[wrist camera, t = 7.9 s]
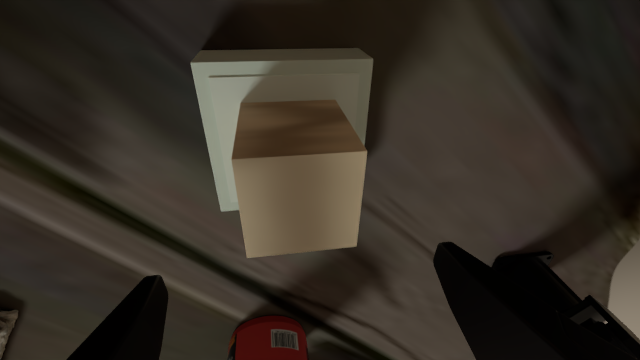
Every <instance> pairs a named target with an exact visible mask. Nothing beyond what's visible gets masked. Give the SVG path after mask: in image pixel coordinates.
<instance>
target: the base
mask: <svg viewBox="0 0 640 360" xmlns="http://www.w3.org/2000/svg"><path fill="white" fill-rule="evenodd" d="M191 68H192V73H193V77H194V82H195V87H196V92H197V97H198V102H199V107H200V111H201V116H202V121H203V126H204V131H205V136H206V141H207V145H208V150H209V155H210V160H211V165H212V170H213V174H214V179H215V184H216V189H217V194H218V199H219V204H220V208H221V211H231V210H239V205H238V198H237V192H236V186H235V179H234V173H233V167H232V160H231V158H232V152H233V146H234V140H235V134H236V127H237V121H238V115H239V109H240V103H253V102H282V101H310V100H336V101H337V103H338V105H339V106H340V108H341V109H342V111H343V113H344V114H345V116H346V117H347V119H348V121H349V122H350V124H351V126H352V127H353V129H354V130H355V132H356V134H357V135H358V137H359V138H360V140H361V142H362V143H363V145H364V146H365V136H366V126H367V117H368V107H369V97H370V88H371V78H372V69H373V58H372V57H370V56H369V55H367V54H366V53H365V52H363V51H362V50H360V49H359V48H326V49H260V50H201V51H200V52H199V53H198V54H197V55H196V57H195V58H194V59H193V60H192V61H191Z"/></svg>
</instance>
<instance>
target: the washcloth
mask: <svg viewBox="0 0 640 360" xmlns="http://www.w3.org/2000/svg"><path fill="white" fill-rule="evenodd" d="M17 318H18V310H11V311H2V310H1V309H0V360H1V358H2V355H3V351H4V350H5V348H4V347H5V345H6V343H7V340H8V336H9V335H10V332H11V331H12V328H14V325H15V324H14V323H15V320H16V319H17Z"/></svg>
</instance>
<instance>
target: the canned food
mask: <svg viewBox="0 0 640 360" xmlns="http://www.w3.org/2000/svg"><path fill="white" fill-rule="evenodd" d="M227 360H309V356H308V349H307V341H306V335H305V332H304V330H303V328H302V326H301V325H300V324H299V323H298V322H297V321H295V320H294V319H291V318H288V317H284V316H275V315H273V316H263V317H258V318H255V319H252V320H249V321H247V322H245V323H244V324H242V325H240V326H239V327H238V328H237V329H236V330H235V331H234V333H233V335H232V338H231V340H230V343H229V348H228V359H227Z"/></svg>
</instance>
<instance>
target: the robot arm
mask: <svg viewBox="0 0 640 360" xmlns="http://www.w3.org/2000/svg"><path fill="white" fill-rule="evenodd" d="M553 257H554V255H553V254H552V253H551V252H542V253H533V254H525V255H517V256H509V257H501V258H498V259H497V260H495V262H494V264H493V266H492V268H491V267H489V266H488V265H486V264H485V263H483V262H482V261H480V260H479V259H477V258H476V257H474V256H473V255H471V254H469V253H468V252H466V251H465V250H463V249H462V248H460V247H459V246H457V245H456V244H454V243H452V242H442V243H439V244H438V246H437V249H436V252H435V255H434V259H433V263H434V267H435V270H436V272H437V275H438V278H439V280H440V283H441V286H442V288H443V291H444V293H445V296H446V299H447V301H448V304H449V306H450V308H451V310H452V312H453V314H454V316H455V318H456V320H457V322H458V324H459V326H460V328H461V330H462V332H463V334H464V336H465V338H466V340H467V342H468V344H469V346H470V348H471V350H472V352H473V354H474V356H475V358H476V360H640V340H639V339H638V338H637V337H636V335H635V334H634V333H633V332H632V331H631V330H630V329H628V328H627V326H625V325H624V324H623V323H622V322H621V321H620V320H619V319H618V318H617V317H616V316H615V315H614V314H613V313H611V312H610V311H609V310H608V309H607V308H606V307H605V306H603V305H602V304H601V303H600V302H598V301H597V300H596V299H595V298H593V297H592V296H591V295H588V296H587V297H585V299H584V300H583V301H582V300H581V299H580V298H579V297H578V296H577V295H576V294H575V293H574V292H573V291H572V290H571V289H570V288H569V287H568V286H567V285H566V284H565V283H564V282H563V281H562V280H561V279H560V278H559V277H558V276H557V275H556V274H555V273H554V272H553V271H552V270H551V269H550V268H549V267H548V265H549V263H550V262H551V260H552V259H553ZM167 304H168V291H167V289H166V286H165V284H164V281H163V279H162V277H161V276H160V275H153V276H146V277H145V278H143V279H142V280H141V281H140V282H139V284H138V285H137V286H136V287H135V288H134V289H133V290H132V291H131V292H130V293H129V294H128V295H127V296H126V297H125V298H124V299H123V300H122V301H121V303H120V304H119V305H118V306H117V307H116V308H115V309H114V310H113V311H112V312H111V313H110V314H109V315H108V316H107V317H106V318H105V319H104V321H103V322H102V323H101V324H100V325H99V326H98V327H97V328H96V329H95V330H94V331H93V332H92V333H91V334H90V335H89V336H88V337H87V338H86V340H85V341H84V342H83V343H82V344H81V345H80V346H79V347H78V348H77V349H76V350H75V351H74V352H73V353H72V354H71V355H70V356H69V357H68V359H67V360H159V356H160V352H161V347H162V340H163V333H164V326H165V319H166V312H167ZM605 320H606V321H607V322H608V323H607V324H604V323H603V321H605Z"/></svg>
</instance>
